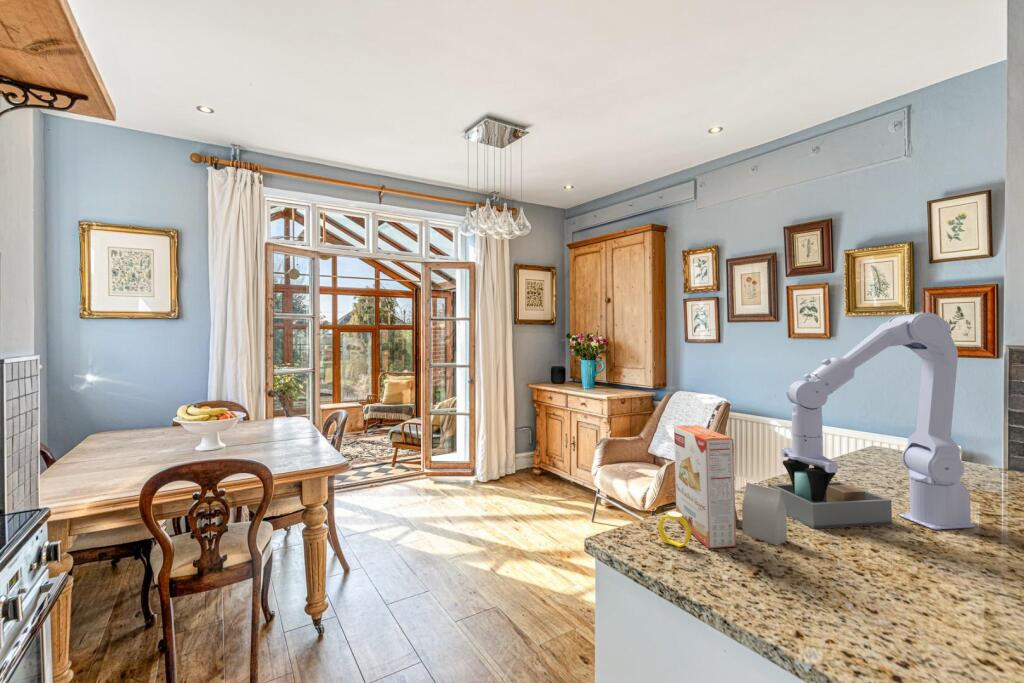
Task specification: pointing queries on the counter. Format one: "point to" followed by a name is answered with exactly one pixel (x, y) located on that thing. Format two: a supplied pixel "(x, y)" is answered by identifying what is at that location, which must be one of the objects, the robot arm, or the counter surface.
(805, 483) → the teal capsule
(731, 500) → the cracker box
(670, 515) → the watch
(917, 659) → the counter surface
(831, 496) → the walnut cube
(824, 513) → the tote
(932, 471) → the robot arm
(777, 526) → the tea bag
